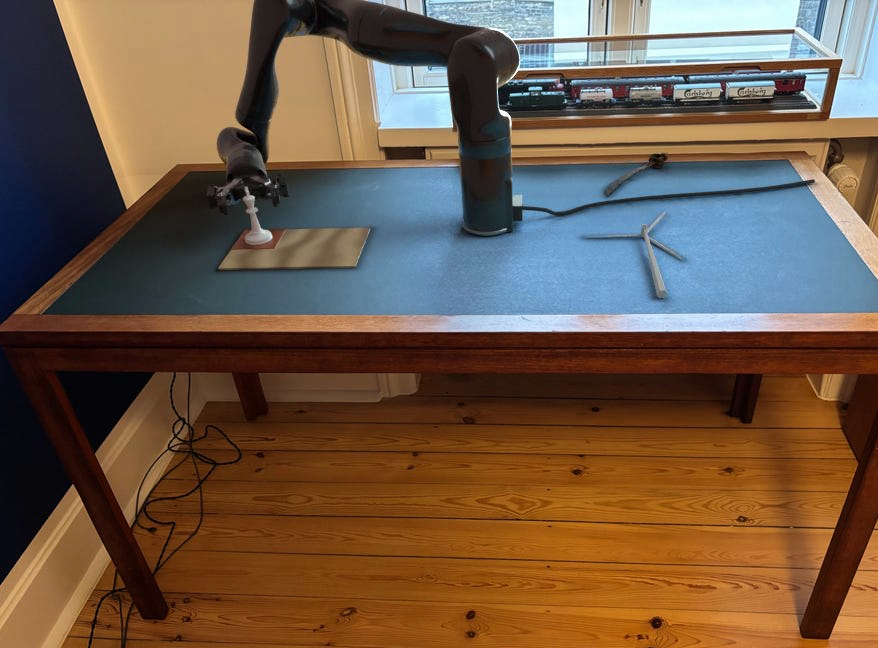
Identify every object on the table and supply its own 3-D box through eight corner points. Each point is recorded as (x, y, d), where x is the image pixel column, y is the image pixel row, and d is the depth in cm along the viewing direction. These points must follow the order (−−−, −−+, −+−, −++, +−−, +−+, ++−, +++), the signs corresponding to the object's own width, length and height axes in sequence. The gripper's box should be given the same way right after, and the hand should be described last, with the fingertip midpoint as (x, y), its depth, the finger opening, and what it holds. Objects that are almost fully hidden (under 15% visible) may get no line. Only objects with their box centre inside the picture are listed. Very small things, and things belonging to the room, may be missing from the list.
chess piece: (248, 247, 130) (234, 194, 124) (242, 237, 133) (229, 185, 128) (275, 240, 132) (263, 188, 126) (268, 230, 135) (256, 179, 129)
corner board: (370, 229, 135) (370, 226, 135) (355, 267, 123) (355, 265, 122) (245, 232, 136) (245, 229, 136) (218, 270, 124) (217, 267, 124)
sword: (608, 197, 142) (609, 187, 140) (593, 193, 144) (594, 183, 142) (675, 160, 156) (676, 151, 154) (661, 157, 158) (662, 147, 157)
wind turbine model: (696, 300, 110) (666, 212, 134) (697, 287, 108) (667, 200, 132) (592, 303, 111) (581, 215, 135) (593, 290, 110) (581, 204, 133)
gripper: (203, 160, 136) (202, 192, 123) (279, 149, 139) (286, 179, 126) (213, 198, 140) (213, 232, 127) (287, 187, 143) (295, 218, 130)
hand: (250, 205), depth 127 cm, fingers open, 8 cm apart
